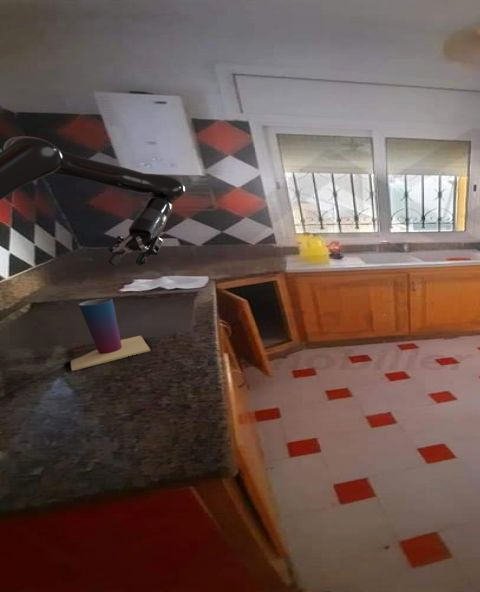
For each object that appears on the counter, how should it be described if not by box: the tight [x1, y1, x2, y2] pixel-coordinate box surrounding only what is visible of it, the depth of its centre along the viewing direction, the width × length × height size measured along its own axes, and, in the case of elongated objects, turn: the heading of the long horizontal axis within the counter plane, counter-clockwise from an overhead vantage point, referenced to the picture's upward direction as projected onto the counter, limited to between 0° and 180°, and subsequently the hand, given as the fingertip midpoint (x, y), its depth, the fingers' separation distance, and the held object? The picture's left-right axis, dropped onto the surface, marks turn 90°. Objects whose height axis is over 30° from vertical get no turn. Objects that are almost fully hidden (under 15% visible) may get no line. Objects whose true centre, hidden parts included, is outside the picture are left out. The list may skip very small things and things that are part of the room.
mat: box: [70, 335, 151, 372], centre depth 93 cm, size 16×16×1 cm
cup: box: [78, 298, 122, 354], centre depth 92 cm, size 7×7×15 cm
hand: (125, 264), depth 98 cm, fingers open, 8 cm apart
